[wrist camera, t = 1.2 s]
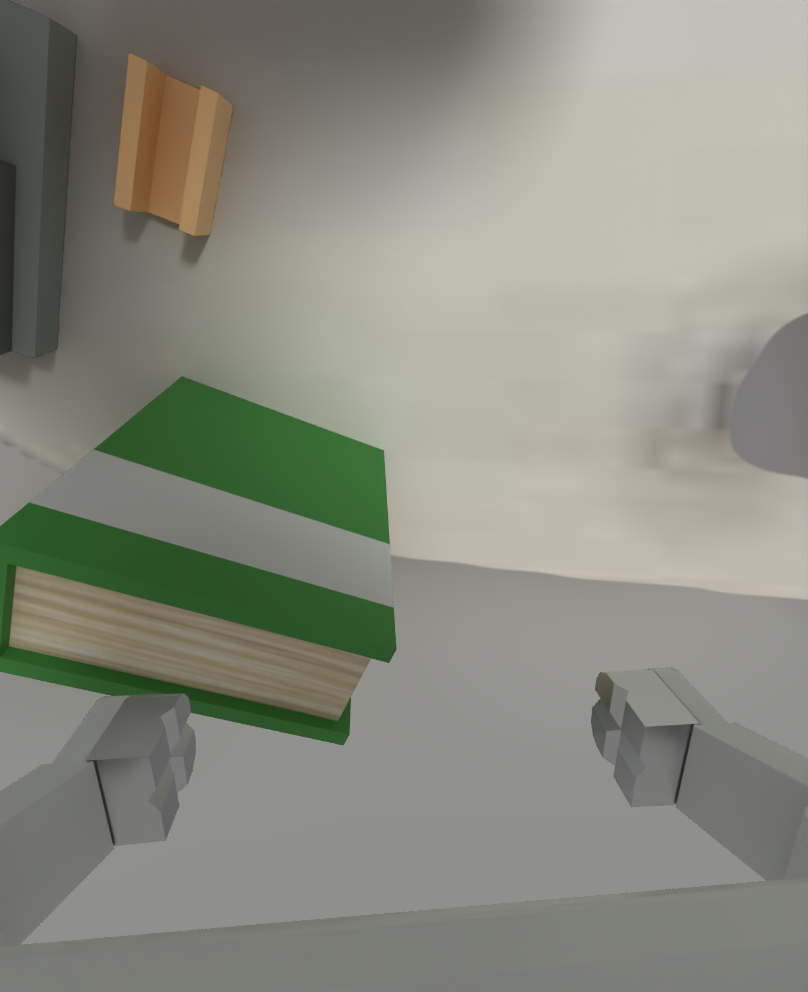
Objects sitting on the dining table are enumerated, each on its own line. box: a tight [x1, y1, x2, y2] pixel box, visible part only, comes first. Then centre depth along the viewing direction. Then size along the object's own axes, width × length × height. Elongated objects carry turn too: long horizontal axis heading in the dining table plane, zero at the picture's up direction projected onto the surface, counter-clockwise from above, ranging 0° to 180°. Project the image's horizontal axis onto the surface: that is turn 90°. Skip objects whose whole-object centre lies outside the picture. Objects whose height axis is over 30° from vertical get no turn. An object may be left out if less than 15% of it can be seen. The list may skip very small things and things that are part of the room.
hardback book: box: [0, 377, 396, 745], centre depth 34 cm, size 18×7×24 cm, turn 67°
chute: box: [114, 53, 233, 236], centre depth 33 cm, size 8×5×4 cm, turn 159°
